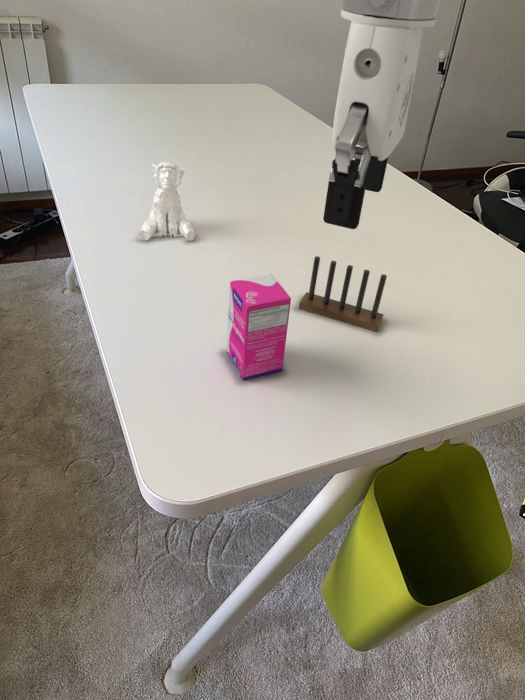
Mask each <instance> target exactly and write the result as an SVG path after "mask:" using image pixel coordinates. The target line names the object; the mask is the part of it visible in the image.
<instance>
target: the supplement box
mask: <svg viewBox="0 0 525 700" xmlns="http://www.w3.org/2000/svg"><path fill="white" fill-rule="evenodd" d="M291 303H292V297H291V296H290V295H289V294H288V292H287V291H286V290H285V289H284V287H283V286H282V285H281V283H280V282H279V280H277V278H276V277H275V276H274V274H273V273H266V274H261V275H260V274H259V275H256V276H255V275H254V276H249V277H245V278H238V279H233V280H229V287H228V311H227V335H226V355H228V358H230V360H231V363H232V364H233V365H234V367H235V368H236V371H237V372H238V374H239V376H240V378H241V380H243V381H244V380H249V379H253V378H258V377H261V376H265V375H270V374H275V373H280V372H281V373H282V372H283V367H284V359H285V353H286V352H285V350H286V342H287V336H288V335H287V334H288V329H289V319H290V310H291Z"/></svg>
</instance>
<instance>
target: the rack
mask: <svg viewBox="0 0 525 700" xmlns="http://www.w3.org/2000/svg"><path fill="white" fill-rule="evenodd" d="M313 259H314V260H313V266H312V270H311V271H312V272H311V278H310V282H309V283H310V284H309V290H308V291H306V292H305V293H304V295H303V296H302V298H301V299H300V300H299V304H298V309H300V310H302V311H306V312H309V313H312V314H316V315H319V316H322V317H325V318H329V319H332V320H336V321H338V322H342V323H346V324H349V325H353V326H355V327H359V328H362V329H366V330H369V331H372V332H376V333H377V332H378V331H379V329H380V326H381V324H382V322H383V319H384V313H381V312H378V311H379V309H380V304H381V300H382V297H383V293H384V289H385V285H386V282H387V277H388V276H387V274H384V273H382V274H381V275H380V278H379V281H378V286H377V290H376V293H375V297H374V302H373V306H372V310H370V309H367V308H364V307H363V303H364V298H365V294H366V290H367V285H368V281H369V277H370V274H371V271H370V270H369V269H364V270H363V274H362V278H361V283H360V287H359V291H358V295H357V300H356V304H355V305H354V304H350V303H347V297H348V293H349V288H350V283H351V280H352V279H351V278H352V274H353V269H354V266H353V265H351V264H349V265H347V266H346V271H345V275H344V280H343V285H342V289H341V290H342V291H341V294H340V299H339V300H335V299H332V298H331V293H332V288H333V283H334V279H335V273H336V267H337V261H336V260H331V261H330V264H329V269H328V274H327V281H326V287H325V292H324V295H323V296H322V295H319V294H315V292H316V287H317V279H318V274H319V269H320V261H321V257H320V256H318V255H317V256H314V258H313Z"/></svg>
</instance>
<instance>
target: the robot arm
mask: <svg viewBox="0 0 525 700" xmlns="http://www.w3.org/2000/svg"><path fill="white" fill-rule="evenodd" d="M440 4H441V0H342V2H341V9H340V17H341V18H342V19H344V20H346V21H350V26H349V31H348V36H347V41H346V44H345V45H346V46H345V49H344V56H343V62H342V68H341V72H340V80H339V84H338V90H337V97H336V103H335V110H334V115H333V116H334V117H333V124H332V132H331V133H332V135H331V146H332V148H333V150H334V151H335V157H334V159H333V160H332V163H331V169H330V173H329V178H328V184H327V189H326V190H327V192H326V197H325V205H324V210H323V211H324V212H323V217H322V218H323V219H322V220H323V222H324V223H325V224H329V225H332V226H337V227H342V228H346V229H350V230H356V229H358V226H359V225H360V220H361V215H362V208H363V204H364V198H365V194H366V191H369V192H374V193H380V191H381V190H382V188H383V185H384V179H385V174H386V170H387V165H388V162H389V161H388V160H389V157H390V156H391V155H392V153H393V151H394V150H395V149H396V147H397V146H398V145H399V144H400V142H401V140H402V138H403V136H404V134H405V130H406V127H407V120H408V115H409V110H410V104H411V99H412V94H413V89H414V84H415V78H416V73H417V68H418V61H419V57H420V50H421V43H422V36H423V29H427V28H429V29H430V28H434V27H435V26H436V22H437V17H438V15H439V14H438V13H439V10H440Z"/></svg>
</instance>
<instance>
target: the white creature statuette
mask: <svg viewBox="0 0 525 700" xmlns="http://www.w3.org/2000/svg"><path fill="white" fill-rule="evenodd" d="M150 165H151V167H152V169H153V172H154V174H153V178H154V182H155V185H156V186H157V189H156V190H155V191H154V194H153V197H152V206H151V210H150V211H149V217H148V219H146V220H145V222H143V223H142V226H141V227H140V229H139V231H138V236H139V238H140V239H141V240H144V241H149V240H150V239H151V238H157V237H161V238H162V237H167V236H169V237H174V238H176V237H183V238H185V240H187V241H188V242H192V241H193V240H194V239H195V236H196V234H195V233H196V232H195V228H194V227H193V224H191V223H190V222H189V220H188V219H187V218H186V215H185V213H184V210H183V208H182V203H181V196H180V195H179V193H178V190H177V189H178V187H179V186H180V185H181V184H182V178H183V177H184V175H185V172H186V169H187V167H183V168H181V169H180V168H179V166H178V165H177V164H176V163H174V162H172V161H162V162H159V164H155V163H150ZM167 232H168V233H167Z"/></svg>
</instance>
